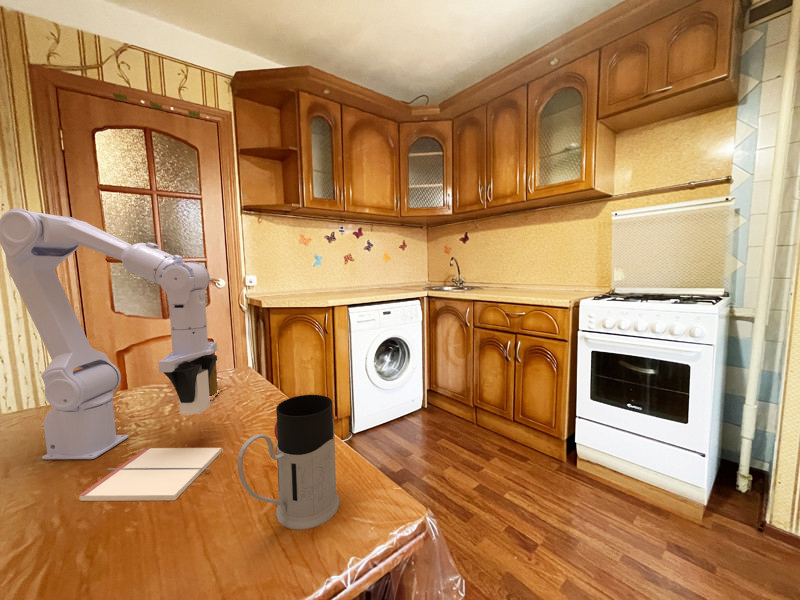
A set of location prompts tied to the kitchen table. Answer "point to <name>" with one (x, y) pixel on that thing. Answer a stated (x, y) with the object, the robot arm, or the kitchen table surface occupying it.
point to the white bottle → (198, 394)
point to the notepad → (152, 475)
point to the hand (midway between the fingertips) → (194, 397)
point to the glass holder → (302, 462)
